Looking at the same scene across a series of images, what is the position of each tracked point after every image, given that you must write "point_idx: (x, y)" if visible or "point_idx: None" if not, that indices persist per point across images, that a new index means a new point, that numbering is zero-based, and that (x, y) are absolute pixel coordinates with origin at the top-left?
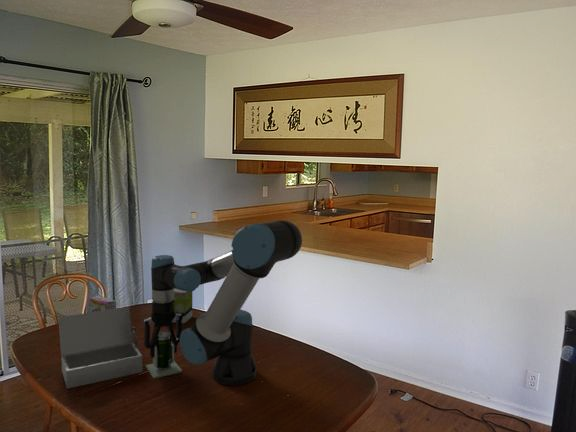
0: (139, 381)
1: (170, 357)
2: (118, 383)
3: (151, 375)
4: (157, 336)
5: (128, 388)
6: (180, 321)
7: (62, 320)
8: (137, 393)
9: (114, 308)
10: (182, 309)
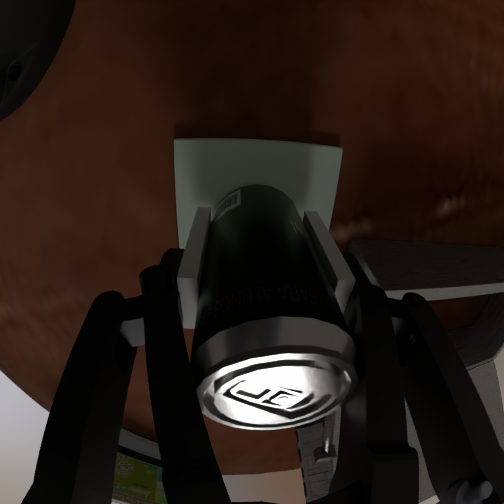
0: (398, 161)
1: (222, 219)
2: (452, 197)
3: (334, 183)
4: (370, 377)
5: (449, 134)
6: (43, 493)
7: (501, 444)
8: (439, 71)
9: (311, 500)
10: (116, 459)
